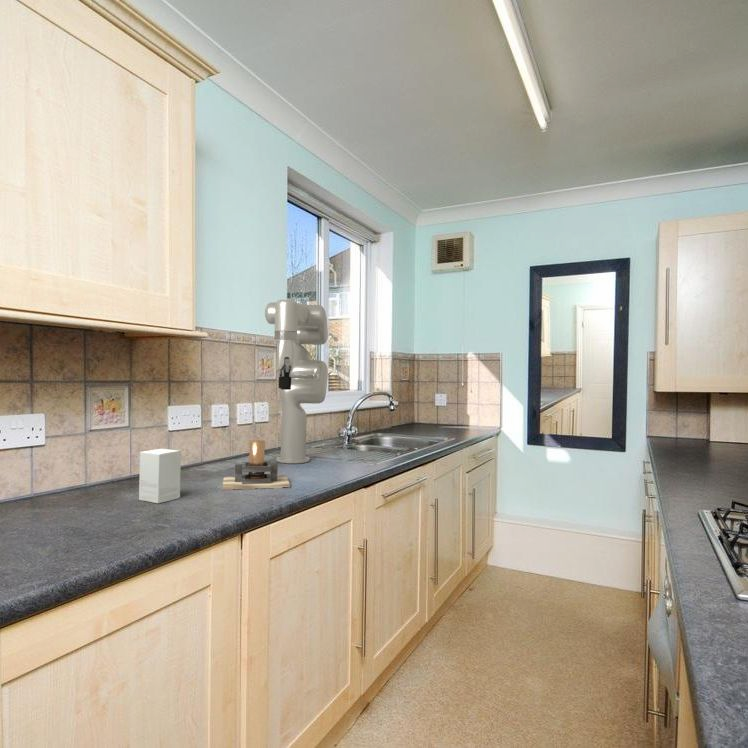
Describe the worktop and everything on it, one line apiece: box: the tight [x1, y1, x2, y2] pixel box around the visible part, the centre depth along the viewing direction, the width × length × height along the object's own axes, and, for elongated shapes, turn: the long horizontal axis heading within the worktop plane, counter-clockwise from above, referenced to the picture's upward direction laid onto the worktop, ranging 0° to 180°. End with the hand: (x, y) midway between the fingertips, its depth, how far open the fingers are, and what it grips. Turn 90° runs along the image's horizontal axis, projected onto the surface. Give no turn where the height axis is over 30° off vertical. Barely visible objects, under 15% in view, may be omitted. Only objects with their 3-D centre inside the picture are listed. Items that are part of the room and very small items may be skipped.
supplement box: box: [138, 448, 182, 504], centre depth 131 cm, size 7×7×13 cm
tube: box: [247, 439, 266, 479], centre depth 151 cm, size 5×5×12 cm
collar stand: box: [222, 461, 291, 491], centre depth 151 cm, size 13×19×6 cm
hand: (284, 388), depth 167 cm, fingers open, 9 cm apart
